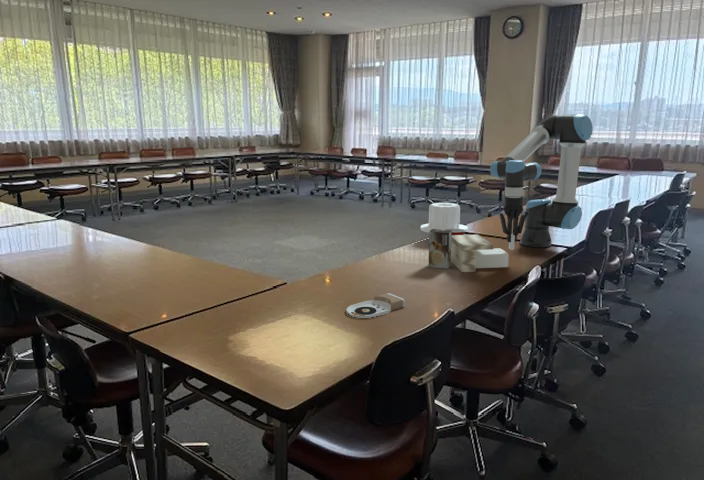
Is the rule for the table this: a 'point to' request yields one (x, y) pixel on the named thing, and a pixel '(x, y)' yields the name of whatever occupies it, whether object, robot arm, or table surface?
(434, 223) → the ribbed cylinder on disc
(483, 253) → the white block
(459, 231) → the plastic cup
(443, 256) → the coffee box
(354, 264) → the table surface
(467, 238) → the beige boxy piece
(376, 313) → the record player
